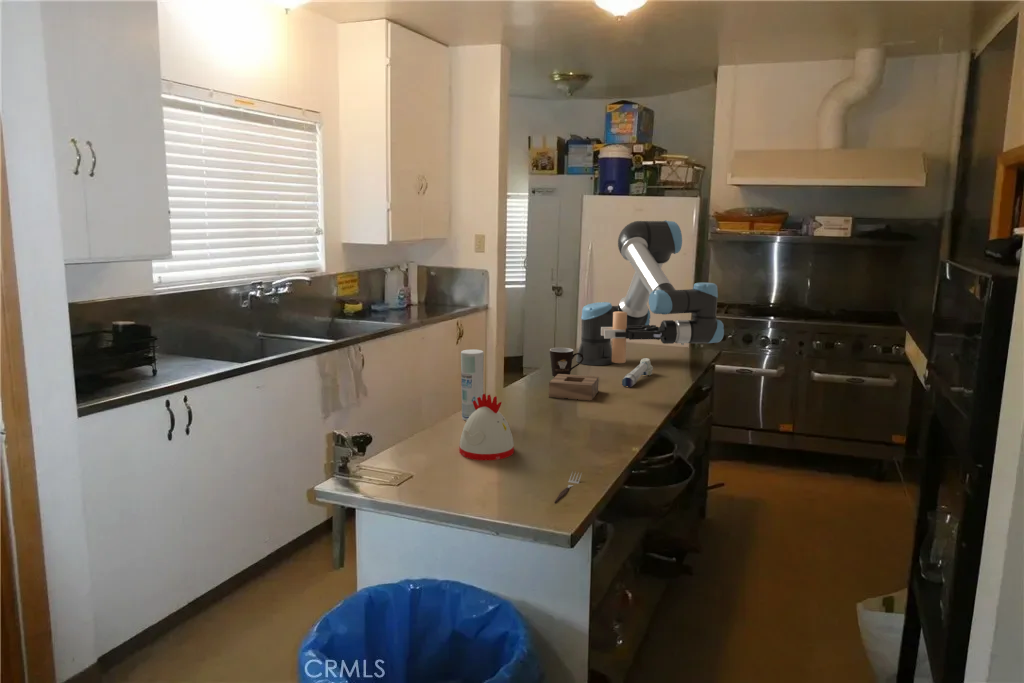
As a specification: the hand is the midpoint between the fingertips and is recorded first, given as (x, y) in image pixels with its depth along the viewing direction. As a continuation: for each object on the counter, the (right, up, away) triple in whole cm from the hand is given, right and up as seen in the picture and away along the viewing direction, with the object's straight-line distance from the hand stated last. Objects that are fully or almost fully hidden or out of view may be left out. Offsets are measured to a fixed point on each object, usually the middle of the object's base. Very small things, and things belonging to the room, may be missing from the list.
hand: (602, 332), depth 239 cm
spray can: (-41, -26, -19) cm, 52 cm away
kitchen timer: (-35, -31, -48) cm, 67 cm away
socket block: (-8, -20, +9) cm, 24 cm away
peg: (+5, -9, +2) cm, 11 cm away
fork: (-17, -36, -74) cm, 84 cm away
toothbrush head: (+16, -17, +30) cm, 38 cm away
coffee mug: (-10, -16, +34) cm, 39 cm away
